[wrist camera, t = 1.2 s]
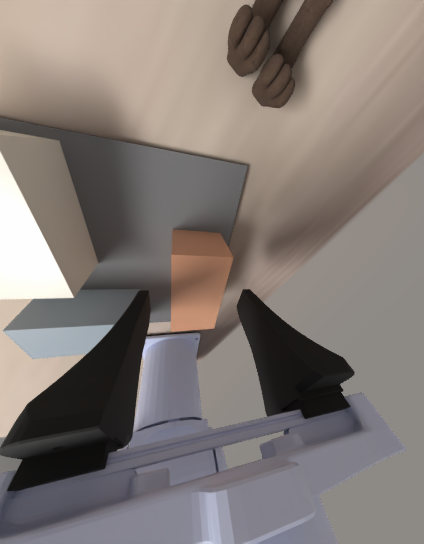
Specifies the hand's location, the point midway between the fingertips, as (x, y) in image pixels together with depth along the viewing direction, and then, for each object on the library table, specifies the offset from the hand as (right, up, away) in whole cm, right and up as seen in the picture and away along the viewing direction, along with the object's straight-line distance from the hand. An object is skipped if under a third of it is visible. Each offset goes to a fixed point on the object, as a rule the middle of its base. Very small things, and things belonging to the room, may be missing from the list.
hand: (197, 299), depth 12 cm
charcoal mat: (-6, +3, +2) cm, 7 cm away
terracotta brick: (-1, +2, +3) cm, 4 cm away
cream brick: (-10, +6, -2) cm, 12 cm away
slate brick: (-10, -1, +4) cm, 11 cm away
